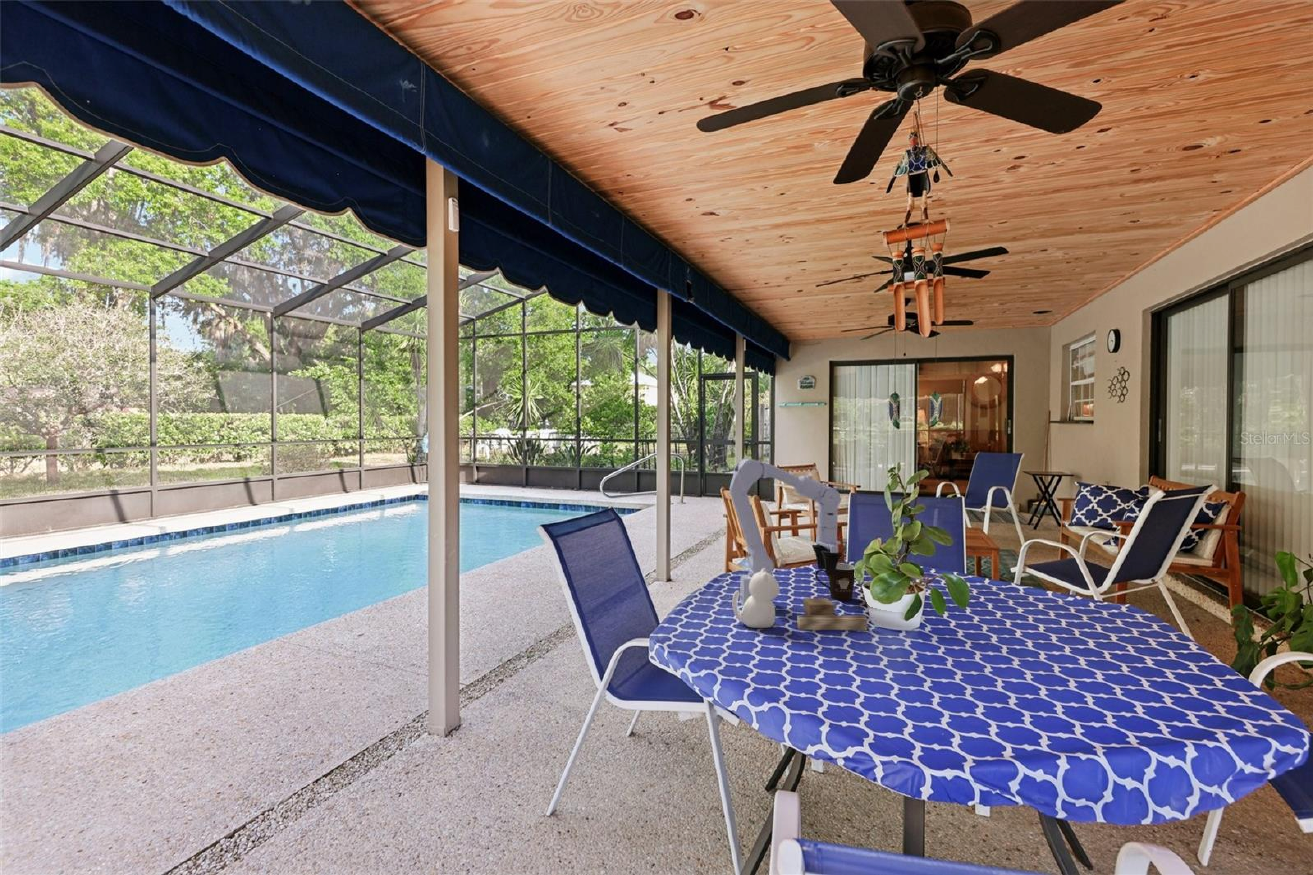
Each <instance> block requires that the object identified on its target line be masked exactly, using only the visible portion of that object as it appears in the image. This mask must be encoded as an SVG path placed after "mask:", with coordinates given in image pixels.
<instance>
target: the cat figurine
mask: <svg viewBox="0 0 1313 875" xmlns="http://www.w3.org/2000/svg"><path fill="white" fill-rule="evenodd" d="M780 590H781V588H780V584H779V583H778V581H777V579H776V578H775V576H774V575H773V576H772V575H771V574H769V573H767V572H766V568H763V569H762V570H761V571H760V572H758V573H756V574H754V575H753V576H752V578H751V580H750V583H749V591H750V594H751V596H750V597H749V598H748V599H747V600H746V602H745V604H744V606H743V605H742V608H741V613H740V610H739V608H738V607H739V606H738V604H739V603H738V600H739V598H740V591H739V590H738V589H737V590H735V591H734V593H733V595H732V598H731V599H732V600H731V603H732V604H731V605H732V610H733V613H734V615H735V617H736V619H737V620H738V621H739V622H742V623H743V624H744V625H745V626H747V627H749V628H755V629H756V628H757V629H764V628H765V629H767V628H769V629H770V628H771V627H772V626H773V625H774V624H775V622H776V620H775V619H776V608H774V605H775V604H774V605H773V603H774V602H773V601H774V600H775V599H776V598H777V597H778V596H779V594H780ZM771 600H772V601H771ZM772 602H773V603H772Z"/></svg>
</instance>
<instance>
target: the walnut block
mask: <svg viewBox="0 0 1313 875" xmlns="http://www.w3.org/2000/svg"><path fill="white" fill-rule="evenodd" d="M802 601H803V603H802V604H803V605H802V606H803V610H802V612H803V613H805V616H835V607H836V605H835V603H833V602H832V601H830V599H829V598H827V597H826V598H824V597H823V598H822V597H817V598H815V597H814V598H813V597H812V598H811V597H809V598H808V597H805V598H803V600H802Z"/></svg>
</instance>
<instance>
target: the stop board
mask: <svg viewBox="0 0 1313 875" xmlns="http://www.w3.org/2000/svg"><path fill="white" fill-rule="evenodd" d="M796 617H797V618H796V624H797V625H796V627H797V629H799V631H821V630H822V631H867V630H868V618H867V617H866V615H834V616H807V615H800V614H799V615H797V616H796Z"/></svg>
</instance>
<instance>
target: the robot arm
mask: <svg viewBox="0 0 1313 875" xmlns="http://www.w3.org/2000/svg"><path fill="white" fill-rule="evenodd" d="M761 478H762V479H769V478H773V479H775V480H777V481H779V482H783V483H784V484H787V485H790V486H791V487H793V489H794V490H795V493H797V494H799V495H801V496H803V497H805V498H807V499H809V500H812V501H814V502H817V503H818V506H817V508H818V509H817V530H816V534H817V535H816V537H815V538H816V539H815V543H816V544H812V545H811V547H812V549H813V551H814V554H815V559H816V564H817V568H818V570H820V569H823V570H825V571H826V573H825V574H826V576H827V575H834V573H835V570H836V566H837V563H839V561H840V559H841V557H842V555H843V553H842V552H841V551H839V546H838V545H842V544H841V543H842V542H841V541H839V540H838V517H839V516H838V515H839V514H838V510H839V508H838V507H839V505H840V503H841V501H842V497H841V494H840V492H839V491H838V490H837V489H836V488H833V487H831V486H829V485H828V484H827V483H826V482H820V481H818V480H816V479H813V476H811V475H808V474H807V475H800V476H798V477H797V475H794V474H791V473H790V472H787V471H785V470H783V469H781V468H779V467H777V466H775V465H773V464H770V463H767V462H764V461H760V460H757V459H753V458H750V457H743V458H742V459H740V460H739V462H738V463H737V464H736V465H735V467H734V468H733V475H732V478H731V481H730V485H729V493H730V496H731V500H732V503H733V505H734V509H735V512H736V515H737V518H738V521H739V524H740V528H741V531H742V534H743V538H744V541H745V543H746V550H747V553H748V556H747V563H748V566H749V567H750V569H749V571H748V572H747V573H748V574H742V575H740V580H739V582H740V585H739V586H740V587H739V588H740V589H739V590H740V591H739V602H740V603H741V605H742V607H743V606H744V604H745V602H746V600H747V599H748V598H749V597H750V596H751V594H750V591H749V583H750V580H751V578H752V576H753V575H754V574H756V573H758V572H760V571H761V570H762V569H763V568H766V572H767V573H769V574H771V575H772V576H773V577H774V575H773V573H774V570H775V564H774V561H773V559H772V558H771V557H770V556H769V555H768V552H767V549H766V547H765V545H764V542H763V539H762V536H761V533H760V530H759V527H758V524H757V521H756V517H755V515H754V511H753V508H752V505H751V502H750V498H749V495H748V492H749V490H750V489H751V486H752V485H753V484H754V483H756V482H757V481H758V480H760V479H761ZM771 601H772V603H773V605H774V608H775V609H776V608H777V605H776V604H775V603H774V602H773V600H771Z"/></svg>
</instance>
